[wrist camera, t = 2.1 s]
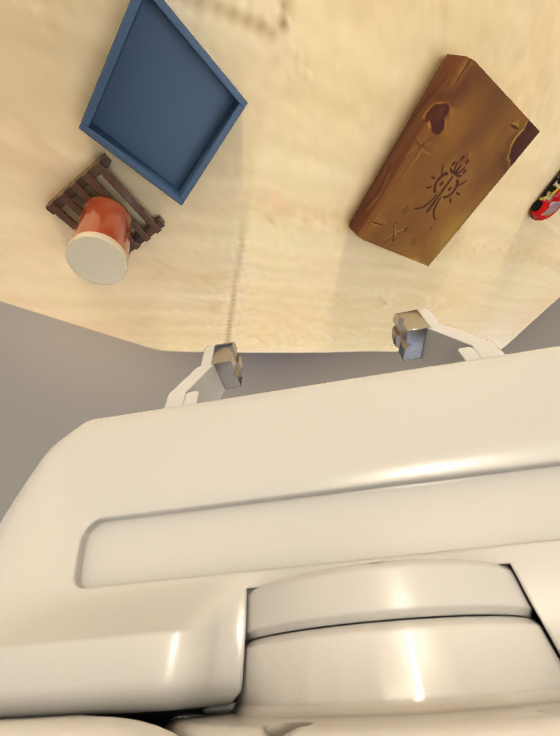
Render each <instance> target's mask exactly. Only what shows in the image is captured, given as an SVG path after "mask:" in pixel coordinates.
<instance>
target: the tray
mask: <svg viewBox="0 0 560 736" xmlns="http://www.w3.org/2000/svg"><path fill="white" fill-rule="evenodd" d="M246 105H247V101H246V100H245V99H244V98H243V97H242V95H241V94H240V93H239V92H238V90H237V89H236V88H235V87H234V85H233V84H232V83H231V82H230V81H229V79H228V78H227V77H226V76H225V74H224V73H223V72H222V71H221V70H220V68H219V67H218V66H217V65H216V63H215V62H214V61H213V60H212V59H211V57H210V56H209V55H208V54H207V52H206V51H205V50H204V49H203V48H202V46H201V45H200V44H199V43H198V41H197V40H196V39H195V38H194V36H193V35H192V34H191V33H190V32H189V30H188V29H187V28H186V27H185V25H184V24H183V23H182V22H181V21H180V19H179V18H178V17H177V16H176V14H175V13H174V12H173V11H172V10H171V8H170V7H169V6H168V5H167V3H166V2H165V1H164V0H131V1H130V3H129V6H128V8H127V11H126V13H125V15H124V18H123V20H122V23H121V25H120V28H119V30H118V33H117V35H116V38H115V40H114V43H113V45H112V47H111V50H110V52H109V55H108V57H107V60H106V62H105V65H104V67H103V70H102V72H101V75H100V77H99V80H98V82H97V84H96V87H95V89H94V92H93V94H92V97H91V99H90V102H89V104H88V107H87V109H86V112H85V114H84V116H83V119H82V121H81V124H80V126H79V128H80V129H81V130H82V131H84V132H85V133H86V134H87V135H89V136H90V137H91V138H93V139H94V140H95V141H97V142H98V143H99V144H101V145H102V146H103V147H105V148H106V149H107V150H109V151H110V152H111V153H113V154H114V155H115V156H117V157H118V158H119V159H121V160H122V161H123V162H125V163H126V164H127V165H129V166H130V167H131V168H133V169H134V170H135V171H136V172H138V173H139V174H140V175H142V176H143V177H144V178H146V179H147V180H148V181H150V182H151V183H152V184H154V185H155V186H156V187H158V188H159V189H160V190H162V191H163V192H164V193H166V194H167V195H168V196H170V197H171V198H172V199H174V200H175V201H176V202H178V203H179V204H180V205H182V204H183V203H184V201H185V200H186V198H187V197H188V195H189V193H190V192H191V190H192V189H193V187H194V186H195V184H196V183H197V181H198V179H199V178H200V176H201V175H202V173H203V172H204V170H205V169H206V167H207V165H208V164H209V162H210V161H211V159H212V158H213V156H214V155H215V153H216V151H217V150H218V148H219V147H220V145H221V144H222V142H223V140H224V139H225V137H226V136H227V134H228V133H229V131H230V130H231V128H232V126H233V125H234V123H235V122H236V120H237V119H238V117H239V116H240V114H241V112H242V111H243V109H244V108H245V106H246Z"/></svg>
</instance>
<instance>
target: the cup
mask: <svg viewBox="0 0 560 736" xmlns="http://www.w3.org/2000/svg"><path fill="white" fill-rule="evenodd" d="M131 234H132V220H131V217H130V215H129V213H128V211H127V210H126V209H125V208H124V207H123V206H122V205H121V204H120V203H119V202H117V201H115V200H113V199H111V198H108V197H103V196H98V197H93V198H91V199H89V200H88V201H87V202H86V203H85V205H84V207H83V209H82V212H81V214H80V217H79V219H78V222H77V224H76V227H75V229H74V232H73V234H72V237H71V239H70V242H69V244H68V247H67V249H66V258H67V261H68V263H69V265H70V267H71V268H72V269H73V271H74V272H75V273H76V274H78V275H79V276H80V277H82V278H83V279H85V280H87V281H89V282H92V283H95V284H101V285H109V284H114V283H116V282H118V281H120V280H121V279H123V277H124V276H125V275H126V272H127V267H128V259H129V250H130V242H131Z"/></svg>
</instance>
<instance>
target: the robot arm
mask: <svg viewBox="0 0 560 736" xmlns="http://www.w3.org/2000/svg"><path fill="white" fill-rule="evenodd" d="M393 322H394V323H395V326H394V327H393V328H392V338H393V342H394V344H395V346H396V347H398V348H399V353H400V355H401V357H402V359H403V360H411V359H419V358H421V359H422V360H424V361H425V362H427V363H429V364H430V365H432V366H430V367H424V368H418V369H411V370H405V371H399V372H393V373H386V374H380V375H373V376H367V377H361V378H354V379H348V380H343V381H335V382H330V383H323V384H317V385H311V386H304V387H298V388H292V389H285V390H279V391H273V392H266V393H259V394H253V395H247V396H241V397H235V398H228V399H221V400H219V399H220V398H221V396H222V394H223V393H224V392H225V390H226V389H231V388H236V387H241V380H242V377H241V372H242V361H241V357H240V355H239V354H238V353H237V346H236V344H235V343H234V342H230V343H224V344H217V345H211V346H207V347H205V351H204V355H203V359H202V363H201V366H200V367H198V368H196V369H195V370H194V371H193V372H192V373H191V374H190V375H189V376H188V377H187V378H186V379H185V380H184V381H183V382H181V384H180V385H178V386H177V387H176V388H175V389H174V390H173V391H172V392H171V393H170V394H169V395H168V397H167V401H166V403H165V407H164V409H159V410H152V411H146V412H140V413H133V414H127V415H121V416H114V417H107V418H99V419H94V420H90V421H87V422H85V423H84V424H82V425H81V426H80V427H78V428H76V429H75V430H74V431H72V432H71V433H70V434H69V435H67V436H66V437H64V438H63V439H62V440H61V441H59V442H58V443H57V444H55V445H54V446H53V447H52V448H51V449H50V450H49V451H48V452H47V454H46V455H45V456H44V458H43V459H42V460H41V462H40V463H39V465H38V466H37V467H36V469H35V470H34V472H33V473H32V475H31V476H30V478H29V479H28V480H27V482H26V484H25V485H24V487H23V488H22V490H21V491H20V493H19V494H18V496H17V498H16V499H15V501H14V502H13V504H12V505H11V507H10V508H9V510H8V511H7V513H6V515H5V516H4V518H3V520H2V521H1V523H0V736H560V346H557V347H551V348H545V349H538V350H532V351H526V352H519V353H513V354H507V355H505V354H504V353H503V352H502V351H501V350H500V349H499V348H498V347H497V346H496V344H495V343H494V342H491V341H488V340H486V339H483V338H480V337H477V336H475V335H472V334H469V333H466V332H464V331H461V330H458V329H455V328H452V327H450V326H447V325H442V324H441V323H440V322H439V321H438V320H437V319H436V317H435V316H434V315H433V314H432V313H431V311H430V310H429V309H428V308H422V309H417V310H413V311H408V312H403V313H397V314H395V315H394V318H393Z"/></svg>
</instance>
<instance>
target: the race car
mask: <svg viewBox="0 0 560 736" xmlns="http://www.w3.org/2000/svg"><path fill="white" fill-rule="evenodd" d="M539 200H541V201H536V202H535V203H534V204H533V205H532V210H533V211H531V217H532V218H533V219H534V220H544V219H546V218H549V217H550V216H552V215H553V214H554V213H555V212H556V211H557V210H558V209H559V208H560V173H559V175H558V176H557V177H556V178H555V180H554V181H553V182H552V183H551V185H550V186H549V187H548V189H547V190H546V191H545V192H544V194H543V195H542V196H541V197H540V199H539ZM534 211H535V212H534Z"/></svg>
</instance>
